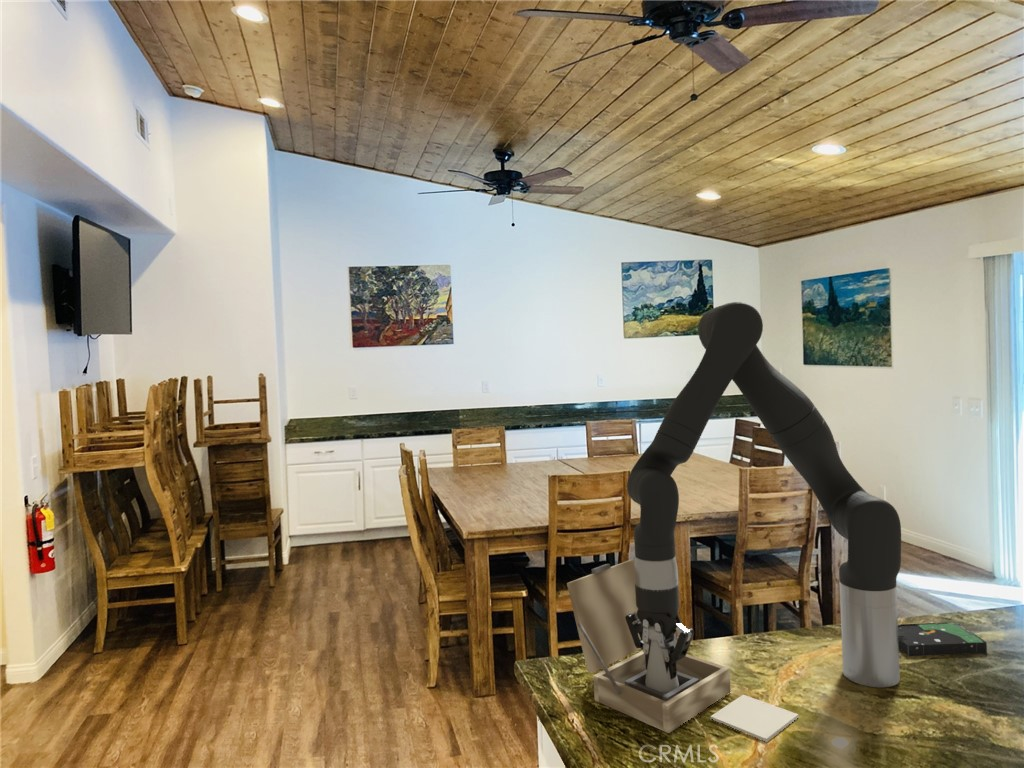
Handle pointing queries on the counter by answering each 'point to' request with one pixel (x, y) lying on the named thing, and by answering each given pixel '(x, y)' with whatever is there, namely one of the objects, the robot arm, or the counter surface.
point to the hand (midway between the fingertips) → (661, 676)
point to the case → (650, 706)
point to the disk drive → (938, 639)
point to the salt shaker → (658, 667)
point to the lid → (605, 612)
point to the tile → (755, 717)
